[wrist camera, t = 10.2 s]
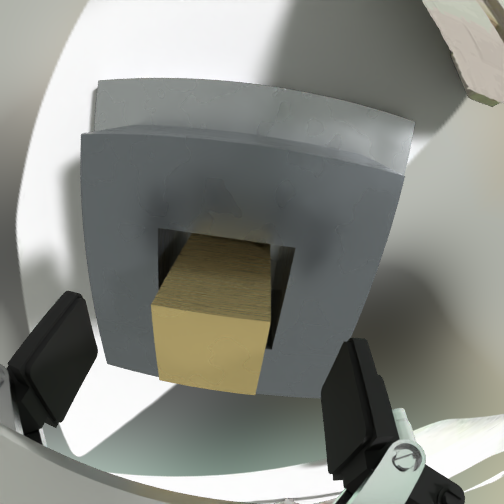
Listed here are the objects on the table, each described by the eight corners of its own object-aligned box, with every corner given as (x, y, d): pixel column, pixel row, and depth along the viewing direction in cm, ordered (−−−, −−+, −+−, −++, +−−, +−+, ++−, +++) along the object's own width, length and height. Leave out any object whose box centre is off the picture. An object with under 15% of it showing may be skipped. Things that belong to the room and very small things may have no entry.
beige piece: (323, 5, 16) (400, 160, 12) (347, -85, 8) (507, 22, 4) (474, 49, 18) (550, 182, 14) (510, -6, 9) (617, 131, 5)
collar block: (107, 81, 16) (39, 77, 10) (407, 120, 16) (470, 130, 10) (114, 322, 25) (80, 379, 18) (335, 356, 25) (348, 422, 19)
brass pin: (205, 210, 19) (150, 304, 10) (270, 218, 19) (270, 322, 10) (202, 266, 20) (159, 379, 11) (261, 274, 20) (255, 395, 11)
